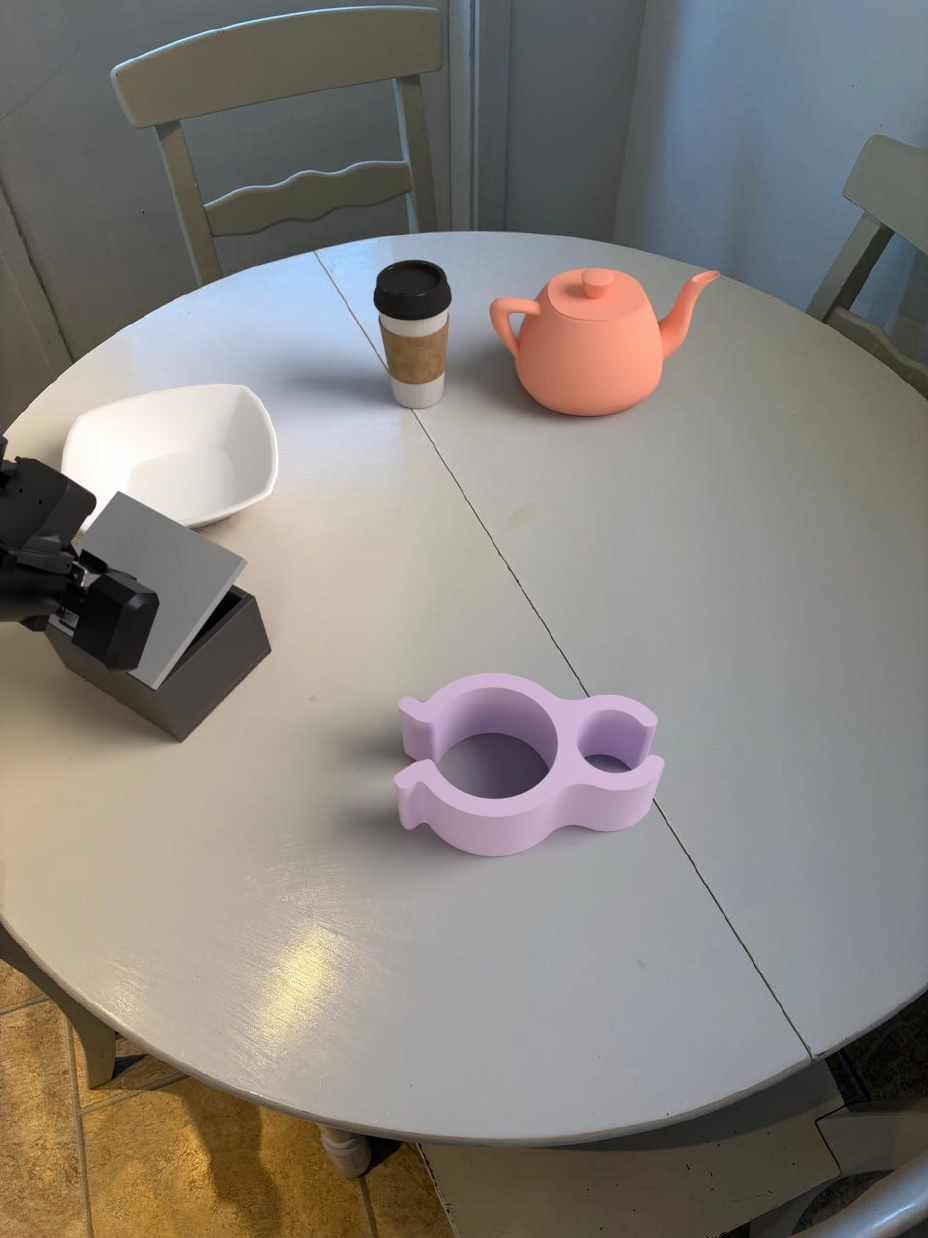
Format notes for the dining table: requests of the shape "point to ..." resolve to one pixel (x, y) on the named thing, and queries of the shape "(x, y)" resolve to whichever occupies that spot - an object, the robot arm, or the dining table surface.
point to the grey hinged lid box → (185, 667)
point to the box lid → (162, 575)
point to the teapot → (593, 339)
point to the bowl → (177, 452)
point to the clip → (554, 734)
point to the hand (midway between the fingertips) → (132, 582)
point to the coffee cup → (414, 329)
